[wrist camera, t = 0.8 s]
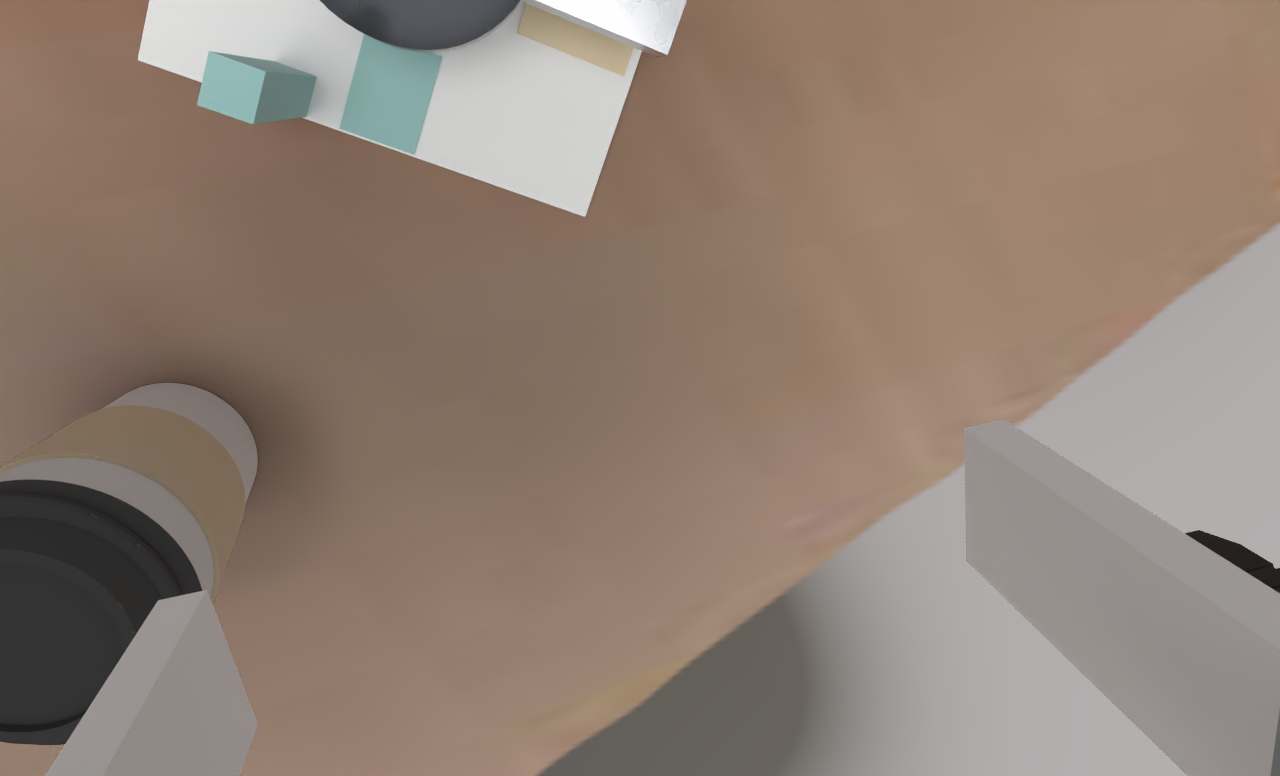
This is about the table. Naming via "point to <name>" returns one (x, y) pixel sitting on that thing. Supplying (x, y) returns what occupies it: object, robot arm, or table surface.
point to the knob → (480, 3)
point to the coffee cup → (110, 542)
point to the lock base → (413, 87)
